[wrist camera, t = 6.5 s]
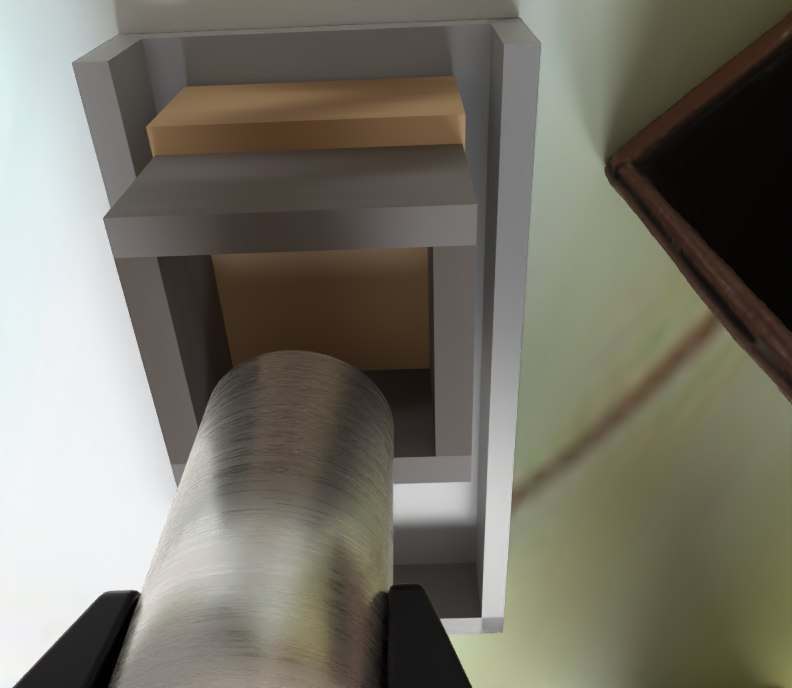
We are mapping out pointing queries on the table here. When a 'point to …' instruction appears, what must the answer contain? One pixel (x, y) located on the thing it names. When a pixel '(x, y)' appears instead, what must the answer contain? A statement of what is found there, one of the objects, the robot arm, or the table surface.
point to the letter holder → (727, 195)
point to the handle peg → (274, 538)
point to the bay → (495, 252)
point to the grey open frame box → (309, 251)
